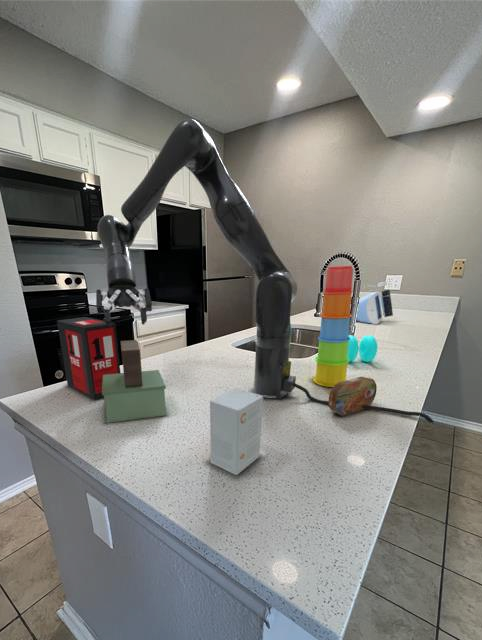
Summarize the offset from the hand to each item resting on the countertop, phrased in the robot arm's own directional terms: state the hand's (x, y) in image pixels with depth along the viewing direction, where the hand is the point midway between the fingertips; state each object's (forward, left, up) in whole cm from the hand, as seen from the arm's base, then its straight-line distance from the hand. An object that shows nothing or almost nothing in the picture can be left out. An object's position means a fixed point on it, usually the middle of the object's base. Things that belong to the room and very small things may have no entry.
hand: (126, 323), depth 83 cm
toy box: (-6, +5, -21) cm, 22 cm away
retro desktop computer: (-32, -170, -21) cm, 174 cm away
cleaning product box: (+15, +2, -21) cm, 26 cm away
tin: (-52, -26, -21) cm, 62 cm away
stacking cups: (-42, -44, -21) cm, 64 cm away
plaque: (-6, +5, -13) cm, 15 cm away
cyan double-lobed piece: (-44, -73, -21) cm, 88 cm away
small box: (-39, +10, -21) cm, 46 cm away
